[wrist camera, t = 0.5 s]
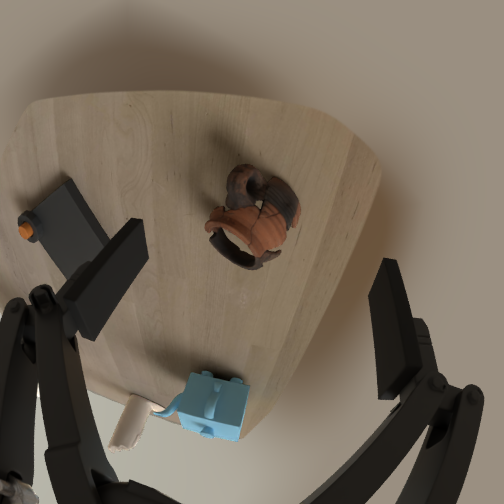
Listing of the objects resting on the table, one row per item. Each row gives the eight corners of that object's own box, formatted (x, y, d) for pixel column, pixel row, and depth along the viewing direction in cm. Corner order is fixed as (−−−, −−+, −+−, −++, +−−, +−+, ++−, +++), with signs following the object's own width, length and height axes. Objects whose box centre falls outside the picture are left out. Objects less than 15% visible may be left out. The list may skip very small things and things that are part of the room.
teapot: (252, 372, 55) (239, 431, 45) (246, 404, 65) (235, 452, 55) (165, 351, 57) (142, 404, 47) (174, 386, 67) (157, 431, 56)
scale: (26, 211, 43) (14, 221, 40) (69, 174, 36) (54, 184, 34) (77, 285, 51) (68, 297, 48) (130, 268, 45) (120, 283, 42)
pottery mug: (312, 233, 36) (277, 286, 32) (249, 216, 41) (213, 260, 37) (294, 146, 27) (246, 201, 24) (220, 140, 32) (170, 185, 29)
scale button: (22, 224, 40) (16, 229, 39) (27, 219, 39) (21, 224, 38) (29, 236, 41) (24, 241, 40) (35, 232, 40) (29, 237, 39)
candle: (170, 416, 82) (151, 470, 66) (130, 399, 81) (107, 451, 65) (173, 410, 77) (152, 468, 61) (130, 391, 76) (105, 447, 60)
